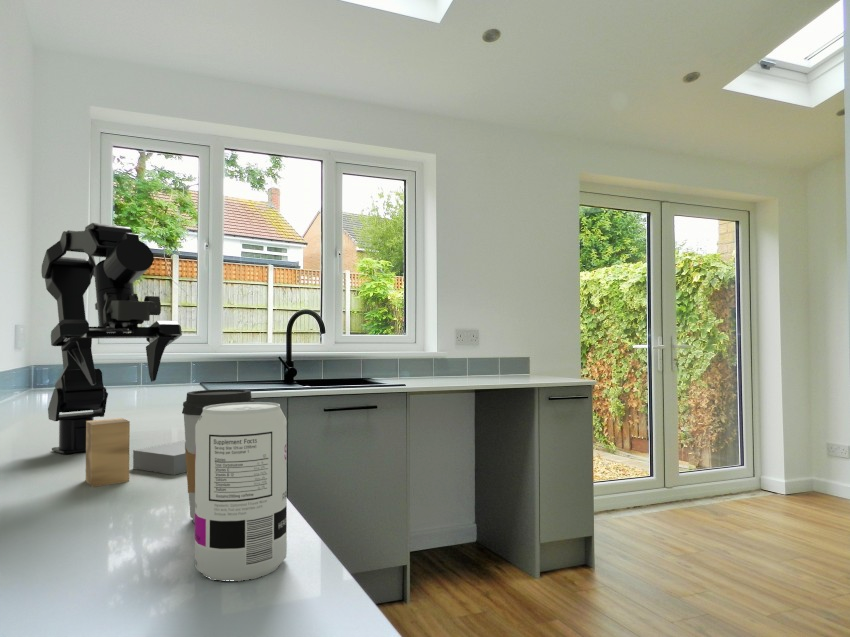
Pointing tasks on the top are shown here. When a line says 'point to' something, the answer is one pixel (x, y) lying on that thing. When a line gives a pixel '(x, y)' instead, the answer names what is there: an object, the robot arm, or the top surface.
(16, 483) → the top surface
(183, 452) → the gray plinth
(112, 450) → the caramel block
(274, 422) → the supplement can
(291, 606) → the top surface
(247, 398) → the coffee cup
